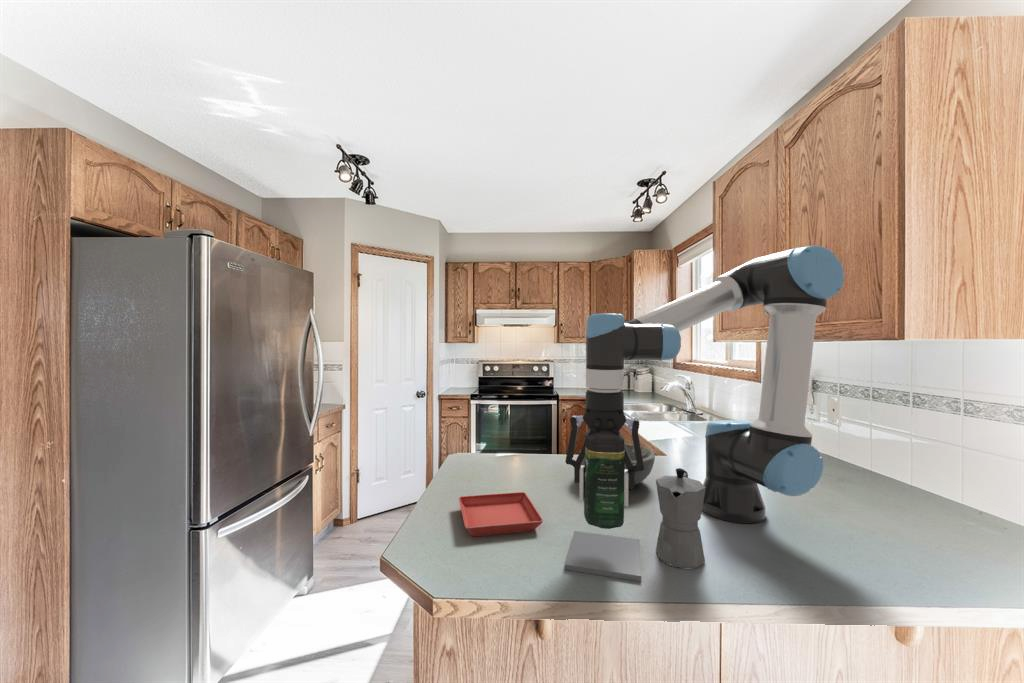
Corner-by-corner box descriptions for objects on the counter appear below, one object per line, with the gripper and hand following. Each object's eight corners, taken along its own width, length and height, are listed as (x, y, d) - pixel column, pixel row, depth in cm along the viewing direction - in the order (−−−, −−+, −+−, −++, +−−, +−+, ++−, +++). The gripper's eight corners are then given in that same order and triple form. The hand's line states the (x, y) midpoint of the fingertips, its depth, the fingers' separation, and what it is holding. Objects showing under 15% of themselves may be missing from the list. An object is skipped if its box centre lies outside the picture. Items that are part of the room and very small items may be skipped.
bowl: (584, 467, 139) (584, 438, 139) (653, 474, 132) (653, 443, 132) (573, 491, 117) (573, 457, 117) (655, 501, 110) (655, 464, 110)
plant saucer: (524, 502, 110) (524, 490, 110) (544, 534, 93) (544, 520, 93) (458, 508, 106) (458, 496, 106) (465, 543, 89) (465, 528, 89)
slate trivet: (639, 543, 87) (639, 539, 87) (641, 581, 74) (641, 576, 74) (574, 535, 91) (574, 530, 91) (564, 569, 78) (564, 564, 78)
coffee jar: (627, 532, 77) (628, 435, 77) (585, 529, 78) (585, 433, 78) (620, 510, 87) (620, 424, 87) (582, 508, 88) (583, 423, 88)
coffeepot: (703, 580, 74) (703, 482, 74) (649, 566, 79) (649, 474, 79) (707, 543, 88) (708, 460, 88) (662, 533, 92) (662, 454, 92)
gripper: (657, 389, 83) (657, 500, 83) (556, 385, 89) (556, 489, 89) (660, 394, 76) (659, 515, 76) (550, 390, 82) (549, 502, 82)
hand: (603, 501), depth 83 cm, fingers closed on coffee jar, 8 cm apart
